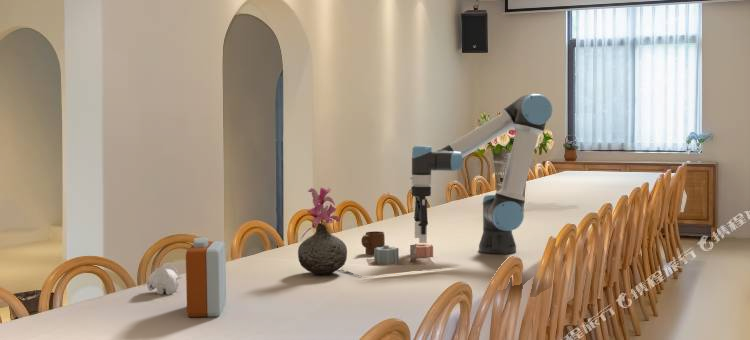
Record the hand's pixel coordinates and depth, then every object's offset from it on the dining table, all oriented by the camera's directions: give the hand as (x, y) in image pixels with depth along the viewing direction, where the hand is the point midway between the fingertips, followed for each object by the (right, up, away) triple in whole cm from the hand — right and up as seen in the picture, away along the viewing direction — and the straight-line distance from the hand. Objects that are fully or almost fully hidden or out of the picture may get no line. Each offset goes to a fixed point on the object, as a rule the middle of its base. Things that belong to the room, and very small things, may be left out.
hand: (420, 240), depth 307 cm
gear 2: (+1, -7, 0) cm, 7 cm away
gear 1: (-13, -7, -14) cm, 20 cm away
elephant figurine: (-84, -11, -59) cm, 103 cm away
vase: (-36, -9, -32) cm, 49 cm away
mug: (-19, -7, +5) cm, 21 cm away
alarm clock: (-65, -13, -84) cm, 107 cm away
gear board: (-8, -8, -13) cm, 18 cm away
